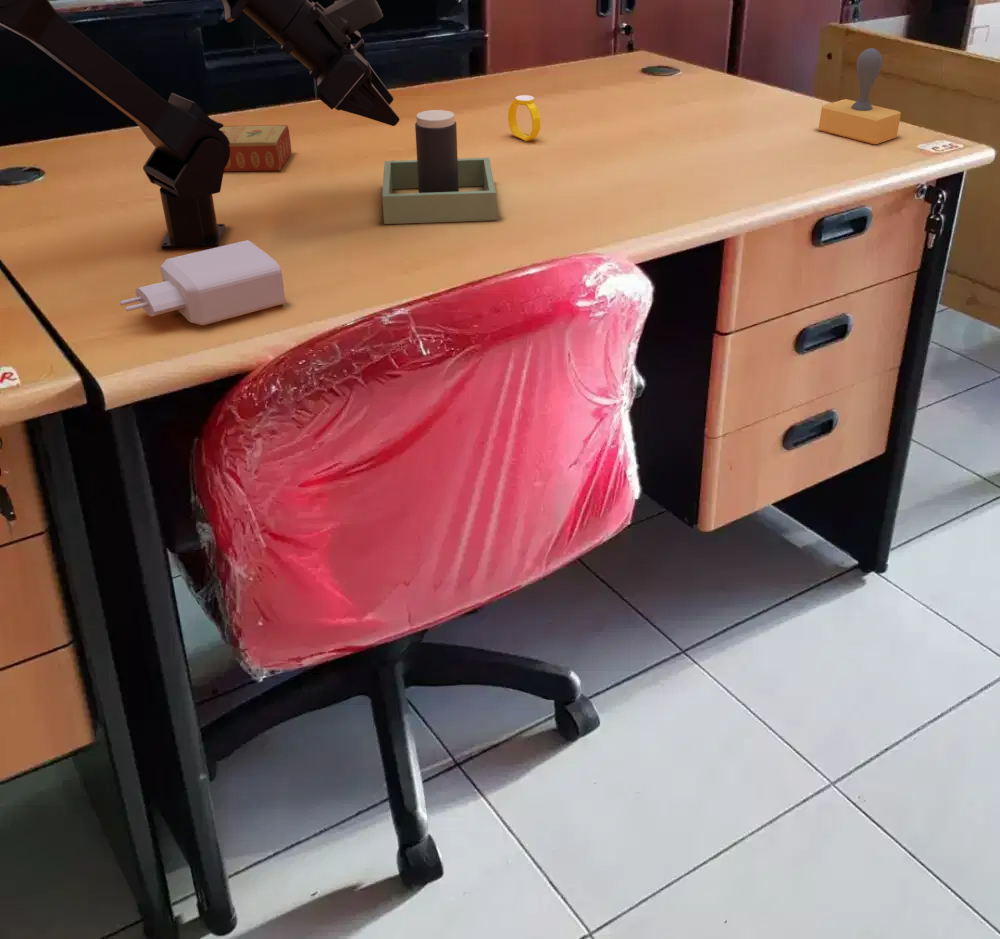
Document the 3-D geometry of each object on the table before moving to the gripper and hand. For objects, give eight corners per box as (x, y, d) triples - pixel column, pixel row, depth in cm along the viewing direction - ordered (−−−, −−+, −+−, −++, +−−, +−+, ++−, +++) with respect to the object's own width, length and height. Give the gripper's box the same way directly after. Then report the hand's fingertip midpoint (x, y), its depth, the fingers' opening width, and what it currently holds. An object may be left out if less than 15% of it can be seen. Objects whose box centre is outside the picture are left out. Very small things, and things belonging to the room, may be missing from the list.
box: (496, 220, 130) (495, 192, 128) (384, 224, 130) (381, 196, 128) (489, 183, 142) (489, 157, 140) (386, 187, 141) (384, 160, 139)
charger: (113, 312, 110) (250, 278, 117) (143, 346, 103) (286, 307, 110) (103, 269, 107) (244, 236, 114) (133, 300, 101) (281, 264, 108)
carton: (280, 172, 147) (276, 140, 144) (164, 173, 147) (158, 141, 145) (292, 153, 154) (288, 123, 151) (181, 153, 154) (175, 123, 152)
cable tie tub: (459, 209, 134) (456, 119, 128) (419, 210, 134) (414, 121, 127) (458, 195, 138) (455, 108, 132) (419, 197, 138) (414, 109, 132)
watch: (504, 135, 160) (503, 94, 156) (518, 132, 161) (518, 91, 158) (529, 145, 156) (529, 103, 152) (544, 141, 157) (544, 99, 154)
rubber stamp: (897, 137, 157) (914, 51, 150) (874, 145, 154) (890, 57, 147) (840, 123, 163) (853, 39, 156) (816, 130, 160) (829, 45, 153)
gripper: (338, -25, 111) (448, 79, 119) (333, -51, 127) (430, 43, 134) (271, 58, 115) (382, 154, 122) (274, 23, 130) (372, 110, 137)
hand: (394, 112), depth 129 cm, fingers open, 9 cm apart
